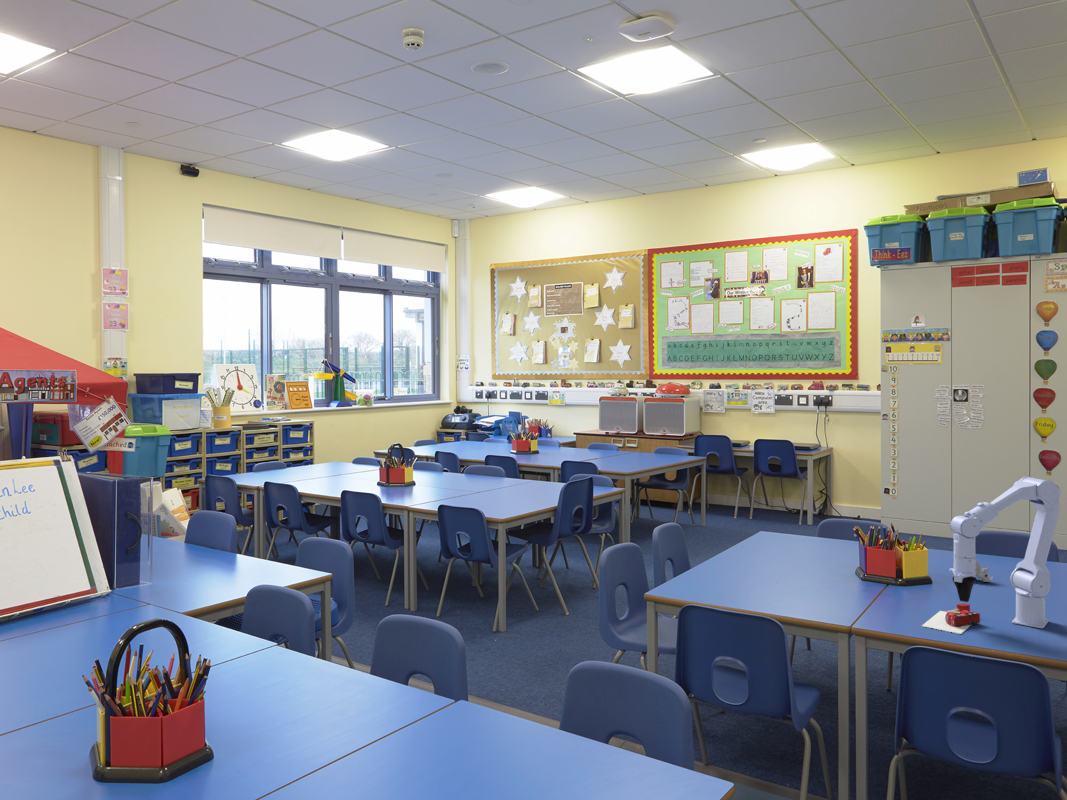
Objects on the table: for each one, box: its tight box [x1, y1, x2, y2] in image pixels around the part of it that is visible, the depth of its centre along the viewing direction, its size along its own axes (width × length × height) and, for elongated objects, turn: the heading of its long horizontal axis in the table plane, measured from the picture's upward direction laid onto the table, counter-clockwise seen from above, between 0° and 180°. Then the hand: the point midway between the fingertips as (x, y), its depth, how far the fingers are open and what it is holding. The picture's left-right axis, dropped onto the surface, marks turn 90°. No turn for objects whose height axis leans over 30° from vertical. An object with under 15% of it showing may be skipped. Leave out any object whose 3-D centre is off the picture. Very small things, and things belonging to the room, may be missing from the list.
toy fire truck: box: [945, 602, 981, 627], centre depth 229 cm, size 3×14×10 cm
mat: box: [921, 610, 972, 635], centre depth 228 cm, size 19×11×1 cm, turn 136°
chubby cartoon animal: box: [971, 558, 994, 583], centre depth 273 cm, size 7×12×8 cm, turn 42°
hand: (964, 601), depth 225 cm, fingers closed
